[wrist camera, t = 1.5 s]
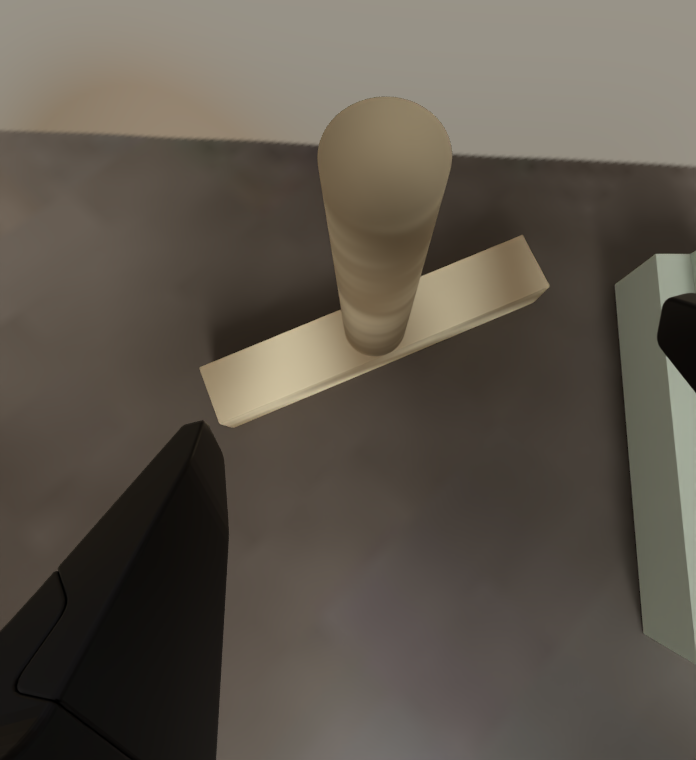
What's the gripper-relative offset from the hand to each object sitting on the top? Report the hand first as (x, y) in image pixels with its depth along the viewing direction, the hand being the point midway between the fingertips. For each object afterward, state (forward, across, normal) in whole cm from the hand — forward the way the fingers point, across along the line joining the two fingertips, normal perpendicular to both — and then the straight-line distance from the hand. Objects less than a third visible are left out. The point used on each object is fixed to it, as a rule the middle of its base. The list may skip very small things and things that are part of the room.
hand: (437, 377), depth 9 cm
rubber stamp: (+11, 0, +5) cm, 12 cm away
